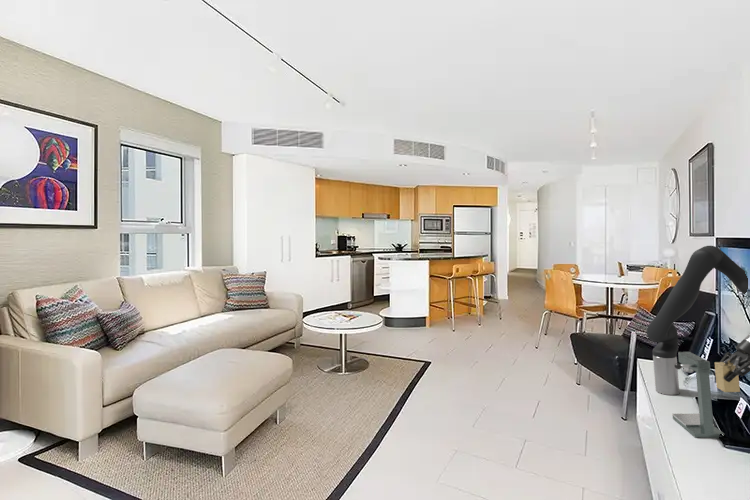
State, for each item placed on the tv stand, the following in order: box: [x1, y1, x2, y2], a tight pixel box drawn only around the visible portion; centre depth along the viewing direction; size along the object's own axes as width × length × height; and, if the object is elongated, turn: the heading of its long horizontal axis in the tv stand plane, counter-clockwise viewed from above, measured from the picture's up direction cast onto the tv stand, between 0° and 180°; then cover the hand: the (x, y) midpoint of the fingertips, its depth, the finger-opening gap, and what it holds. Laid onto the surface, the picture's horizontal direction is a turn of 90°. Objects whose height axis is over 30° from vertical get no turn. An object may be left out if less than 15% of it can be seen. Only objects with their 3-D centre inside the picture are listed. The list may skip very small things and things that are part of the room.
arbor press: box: [672, 351, 725, 439], centre depth 158 cm, size 16×13×28 cm
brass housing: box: [714, 361, 741, 393], centre depth 158 cm, size 5×5×11 cm
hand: (721, 377), depth 158 cm, fingers closed on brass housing, 5 cm apart
